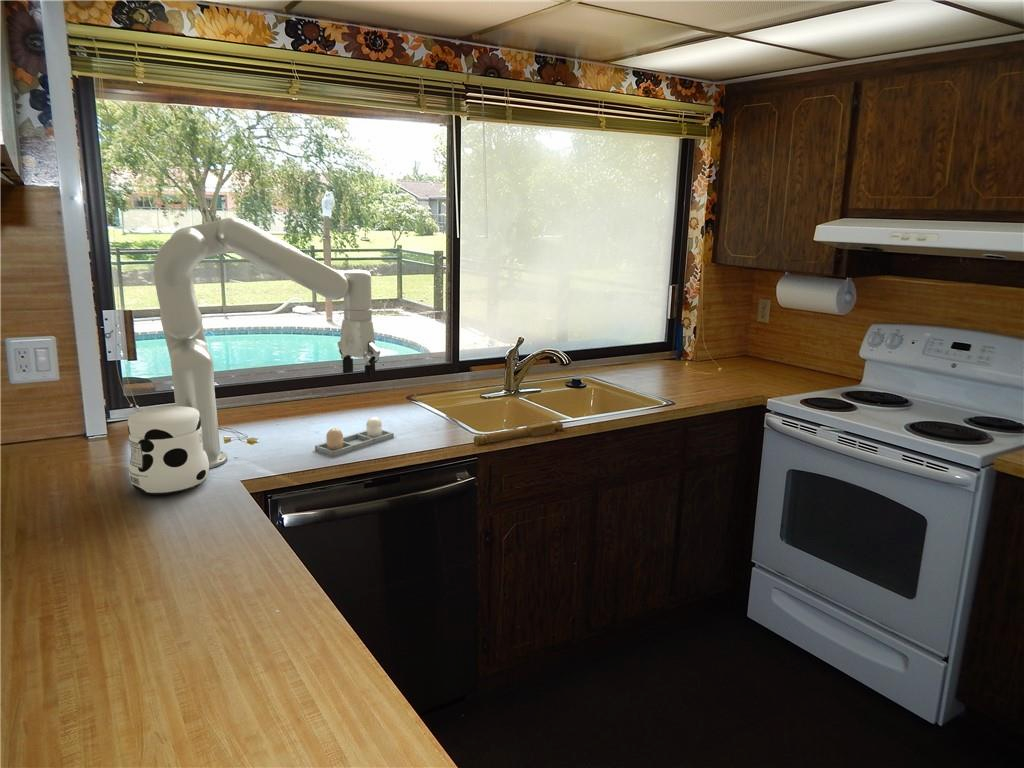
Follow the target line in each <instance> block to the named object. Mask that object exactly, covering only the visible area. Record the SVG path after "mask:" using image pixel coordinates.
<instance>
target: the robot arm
mask: <svg viewBox="0 0 1024 768" xmlns="http://www.w3.org/2000/svg"><path fill="white" fill-rule="evenodd" d="M230 252H231V253H233V254H235V255H237V256H239V257H241V258H243V259H245V260H247V261H248V262H251V263H254V264H255V265H258V266H259V267H261V268H263V269H265V270H266V271H268V272H271V273H273V274H275V275H277V276H279V277H281V278H284V279H287V280H289V281H292V282H294V283H295V284H298V285H300V286H302V287H304V288H306V289H308V290H310V291H312V292H314V293H315V294H318V295H320V296H321V297H324V298H326V299H328V300H330V301H339V300H342V299H343V319H342V322H341V328H340V339H339V341H338V342H337V348H338V352H339V354H340V358H341V359H342V373H343V374H350V373H353V372H354V359H353V358H358V359H362V358H363V360H364V362H365V365H364V380H371V379H375V378H376V365H377V362H378V360H379V358H380V355H381V350H380V349H379V348H378V347H377V346H376V342H375V339H376V338H375V329H374V325H373V321H372V318H373V317H372V312H373V310H372V303H373V302H372V274H371V273H370V271H368V270H364V269H348V270H339V269H333V268H331V267H330V266H327V265H326V264H324V263H322V262H321V261H318V260H316V259H314V258H312V257H311V256H309V255H307V254H306V253H304V252H302V251H301V250H299V249H298V248H296V247H295V246H293V245H291V244H290V243H288V242H286V241H284V240H283V239H280V238H278V237H276V236H274V235H272V234H270V233H269V232H266V231H265V230H263V229H261V228H259V227H258V226H256V225H254V224H253V223H250V222H249V221H246V220H244V219H241V218H239V217H238V218H237V217H233V216H232V217H226V218H222V219H219V220H215V221H210V222H206V223H205V222H204V223H200V224H197V225H196V224H195V225H191V226H187V227H186V226H185V227H183V228H182V227H181V228H179V229H177V230H175V231H174V233H173V234H172V235H171V237H170V238H169V239H168V240H167V241H166V242H165V243H163V244H162V245H161V247H160V248H159V250H158V252H157V253H156V256H155V259H154V262H153V279H154V284H155V290H156V295H157V296H156V297H157V301H158V304H159V309H160V310H159V311H160V315H159V316H160V317H159V318H160V322H161V326H162V330H163V331H162V332H163V335H164V338H165V339H164V340H165V343H166V347H167V351H168V354H169V355H168V356H169V359H170V368H171V374H172V376H171V377H172V384H173V395H174V402H175V403H174V406H184V407H191V408H195V409H197V410H198V411H199V414H200V419H201V428H202V441H203V447H204V449H205V452H206V454H207V457H208V461H209V469H213V468H215V467H219V466H221V465H223V464H224V463H226V462H227V461H228V455H227V453H226V452H224V451H221V444H220V433H219V424H218V423H219V422H218V411H217V402H216V392H215V375H214V374H215V371H214V369H215V368H214V363H213V362H214V361H213V359H212V355H211V353H210V351H209V348H208V345H207V344H208V343H207V340H206V334H205V331H204V327H203V317H202V313H201V310H200V309H199V305H198V300H197V296H196V293H195V286H194V285H195V284H194V281H193V270H194V268H195V267H196V265H197V264H199V263H200V262H202V261H204V260H205V258H210V257H214V256H215V257H216V256H219V255H222V254H225V253H226V254H227V253H230Z"/></svg>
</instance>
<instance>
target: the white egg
mask: <svg viewBox="0 0 1024 768" xmlns="http://www.w3.org/2000/svg"><path fill="white" fill-rule="evenodd" d="M365 427H366V430H367V436H368V437H371V438H376V437H379V436H382V430H383V422H382V420H381V419H380V418H379V417H377V416H372V417H369V418H368V419H367V421H366V425H365Z"/></svg>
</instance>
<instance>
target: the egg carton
mask: <svg viewBox="0 0 1024 768" xmlns="http://www.w3.org/2000/svg"><path fill="white" fill-rule="evenodd" d="M394 435H395V434H394V432H393V431H388V430H385V429H382V436H379V437H376V438H371V437H368V436H367V429H366V430H363V431H360V432H356V433H354V434H350V435H346V436H343V448H341V449H338V450H335V451H331V450H329V449H327V441H326V442H324V443H321V444H317V445H314V449H313V450H312V452H313V453H316V454H319V455H321V456H323V457H327V458H330V459H335V458H338V457H341V456H345V455H347V454H350V453H354V452H358V451H361V450H363V449H366V448H370V447H373V446H376V445H379V444H382V443H385V442H387V441H391V440H395V439H397V438H398V437H397V436H394Z"/></svg>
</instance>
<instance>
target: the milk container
mask: <svg viewBox="0 0 1024 768" xmlns="http://www.w3.org/2000/svg"><path fill="white" fill-rule="evenodd" d="M127 432H128V441H129V442H128V443H129V447H130V460H129V465H128V466H129V467H128V475H129V479H130V483H131V485H132V486H133V488H134V489H135V490H136V491H137V492H139V493H142V494H146V495H153V496H160V495H161V496H166V495H173V494H180V493H183V492H186V491H189V490H193V489H194V488H196V487H199V486H200V485H202V484H203V483H204V482H205V481H207V478H208V477H209V470H210V468H209V461H208V457H207V454H206V452H205V449H204V447H203V441H202V428H201V419H200V414H199V411H198V410H197V409H195V408H191V407H184V406H176V405H172V406H171V405H170V406H169V405H168V406H161V407H160V406H159V407H154V408H147V409H144V410H141V411H137V412H134V413H133V414H131V415H129V417H128V419H127Z"/></svg>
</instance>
